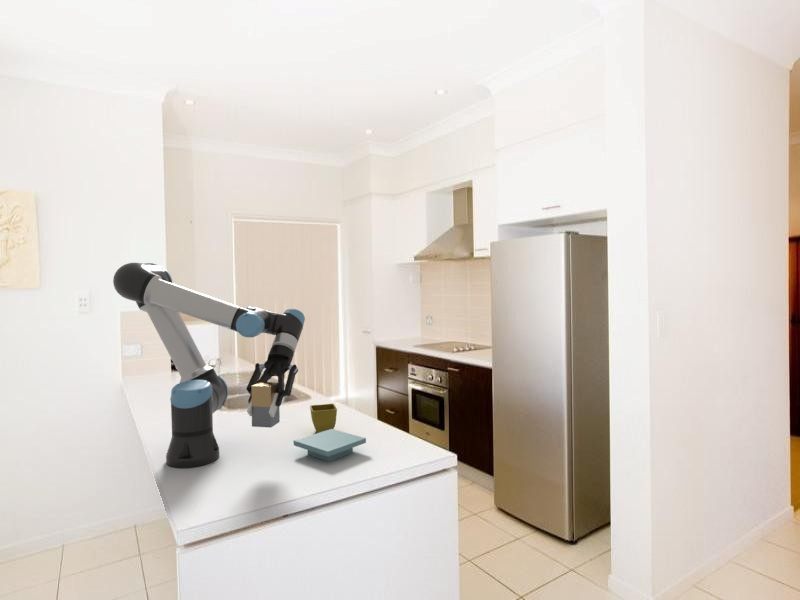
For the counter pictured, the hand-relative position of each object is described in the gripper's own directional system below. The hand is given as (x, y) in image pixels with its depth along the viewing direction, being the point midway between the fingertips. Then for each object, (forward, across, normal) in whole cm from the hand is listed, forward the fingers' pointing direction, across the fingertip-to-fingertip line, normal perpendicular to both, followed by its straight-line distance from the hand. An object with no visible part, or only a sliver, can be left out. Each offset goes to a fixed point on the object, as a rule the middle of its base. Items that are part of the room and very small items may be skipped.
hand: (260, 414), depth 147 cm
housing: (0, 0, -5) cm, 5 cm away
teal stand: (0, -16, -22) cm, 27 cm away
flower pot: (-15, -7, -37) cm, 41 cm away
